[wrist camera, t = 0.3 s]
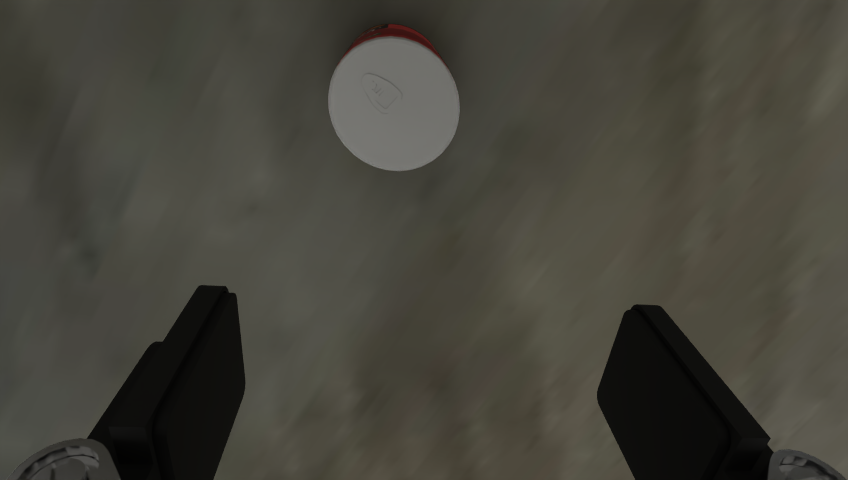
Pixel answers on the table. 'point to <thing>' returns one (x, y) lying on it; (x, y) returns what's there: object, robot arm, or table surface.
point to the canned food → (393, 99)
